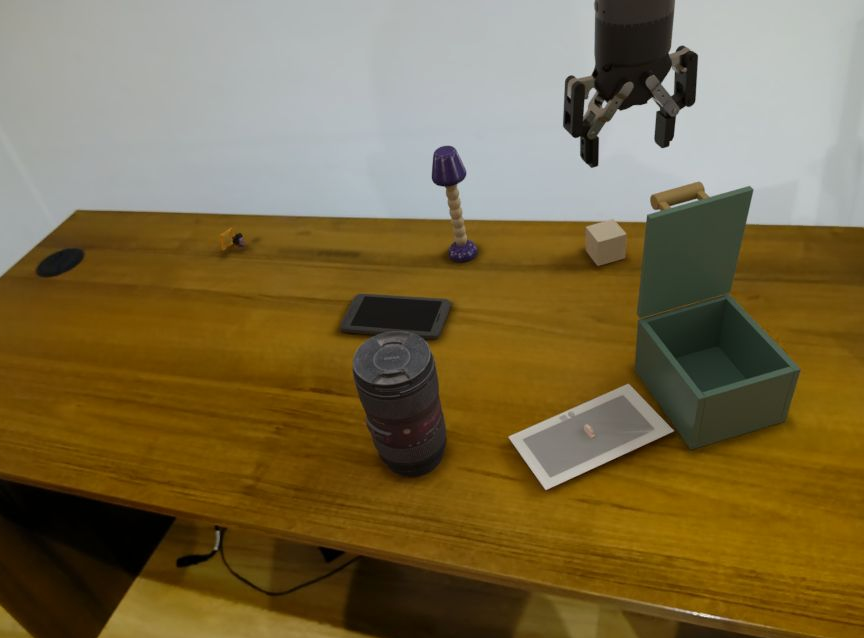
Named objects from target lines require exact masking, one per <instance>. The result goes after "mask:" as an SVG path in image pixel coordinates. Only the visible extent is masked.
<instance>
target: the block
mask: <svg viewBox="0 0 864 638" xmlns="http://www.w3.org/2000/svg"><path fill="white" fill-rule="evenodd" d="M585 252H586V253H587V254H588V256H589V257H590V258H591V259H592V261H593V263H595V265H596V266H597V267H600V266H603V265H606V264H607V265H608V264H611V263H614V262H617V261H620V260H621V261H622V260H625V259H626V252H627V233H626V231H625V230H624V229H623V228H622V227H621V226H620V225H619V223H617V221H616V220H615V219H614V218H612V219H608V220H605V221H601V222H597V223H594V224H591V225H587V226H585Z"/></svg>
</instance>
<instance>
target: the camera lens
mask: <svg viewBox="0 0 864 638" xmlns="http://www.w3.org/2000/svg"><path fill="white" fill-rule="evenodd" d="M352 376H353V381H354V384H355V389H356V391H357V395H358V398H359V401H360V403H361V406H362V409H363V410H364V412H365V416H366V418H365V424H366V427H367V430H368V432H369V433H370V435H371V439H372V443H373V445H374V447H375V449H376V451H377V453H378V455H379V458H380V460H381V461H382V462H383V463H384V464H385V465H386V466H387V467H388V469H389V470H390V471H391V472H392V473H394V474H396V475H398V476H400V477H402V478H403V477H404V478H419V477H423V476H425V475H428V474H430V473H431V472H433V471H434V470H435V469H436V468H438V466H439V465H440V464H441V462H442V461H443V459H444V455H445V450H446V447H447V427H446V420H445V415H444V412H443V408H442V403H441V398H440V386H439V385H440V384H439V376H438V371H437V366H436V360H435V356H434V354H433V353H432V350H431V347H430V345H429V343H428V342H427V341H426V339H423V338H421V337H420V336H418V335H416V334H414V333H409V332H404V331H392V332H385V333H382V334H378V335H373V336H372V337H370V338H367V340H365V341H364V342H363V343H362V344H360V345H359V347H358V348H357V349H356V350H355V352H354V355H353V358H352Z"/></svg>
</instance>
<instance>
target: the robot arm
mask: <svg viewBox="0 0 864 638" xmlns="http://www.w3.org/2000/svg"><path fill="white" fill-rule="evenodd" d="M675 8H676V0H594V2H593V9H594V49H593V54H594V68H593V71H592V73H591V75H588V76H583V77H579V78H577V77H576V76H575V75H573V74H572V75H571V74H570V75H568V76H567V77H566V78H565V80H564V91H563V92H564V93H563V112H562V113H563V115H562V116H563V117H562V127H563V129H564V130H565V131H566V132H568V134H569V135H570V136H571V137H572V138H574V139H578V138H579V156H580V159H581V160H582V161H583V162H584V163H585V164H586V165H588V167H590V168H591V169H593V168H597V167H599V163H600V162H599V160H600V159H599V156H600V137H599V136H598V135H599V134H600V133H601V130H602V129H603V127H604V126H605V125H606V124H607V123H609V122H611V120H612V119H613V117H614V116H615V115H616V113H617V111H618V110H619V111H620V112H621V111H625V110H629V109H630V108H631V107H633V106H643V105H647V104H648V101H650V100H652V101H653V102H654V103H655V104H656V106H658V108H659V110H657V111H655V123H654V135H653V137H654V138H653V139H654V143H655V144H656V145H657V146H658V147H659V148H660V149H666V148H668V147H670V143H671V142H672V141H673V140H674V137H675V130H676V120H677V115H679V113H680V111H681V110H682V109H684V108H685V107H686V108H691V107H692V106H694V105H695V103H696V100H697V84H698V65H699V55H698V53H697V52H696V51H694V50H692V49H691V48H689V47H687V46H686V45H684V44H683V45H679V46H678V47H677V48H676V49H675V52H672V53H670V52H671V48H672V41H673V29H674V18H675ZM671 69H672V71H673V72H674V76H673V77H674V78H673V79H674V81H673V94H672V95H671V94H670V93H669V92H668V90H667V89H666V88H665V87H664V86H663V84H662V83H663V82H664V81H665V79H666V78H667V75H668V74H669V72H670V71H671ZM592 89H594V90H595V92H594V94H593V95H592V98H591V99H590V101H589V102H588V104H587V110H586V112H585V100H588V99H589V98H590V97H589V94H590V91H591V90H592ZM604 102H605V103H606V104H605V106H604V107H603V104H604Z"/></svg>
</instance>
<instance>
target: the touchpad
mask: <svg viewBox="0 0 864 638" xmlns="http://www.w3.org/2000/svg"><path fill="white" fill-rule="evenodd" d="M674 432H675V430H674V429H673V428H672V427H671V426H670V425H669V424H668V423H667V422H666V421H665V420H664V418H662V417H661V416H660V414H659V413H657V411H655V409H654V408H653V407H652V406H651V405H650V404H649V403H648V402H647V401H646V400H645V399H644V398H643V397H642V396H641V395H640V394H639V393H638V392H637V391H636V390H635V388H633V386H631V384H630V383H627V384H625V385H622V386H620V387H618V388H615V389H613V390H610V391H609V392H606V393H604V394H602V395H599V396H597V397H595V398H593V399H590V400H587V401H586V402H583V403H581V404H579V405H576V406H574V407H572V408H570V409H567V410H566V411H563V412H561V413H558V414H557V415H554V416H551V417H550V418H547V419H545V420H543V421H540V422H538V423H536V424H534V425H531V426H529V427H526V428H525V429H522V430H520V431H518V432H516V433H513V434H511V435H509V436H507V437H508V439H509V440H510V442H511V443H512V445H513V446H514V447H515V449H516V450H517V452H518V453H519V454H520V456H521V458H522V459H523V460H524V462H525V463H526V464H527V466H528V467H529V469H530V470H531V471H532V473H533V474H534V476H535V477H536V479H537V480H538V482H539V483H540V485H541V486H542V487H543V489H544V490H545V491H547V490H550V489H552V488H554V487H556V486H559V485H561V484H563V483H565V482H567V481H569V480H571V479H574V478H575V477H578V476H580V475H582V474H584V473H586V472H589V471H590V470H593V469H595V468H598V467H599V466H602V465H604V464H606V463H609V462H610V461H612V460H614V459H615V460H616V458H617V459H618V458H620V457H621V456H624V455H626V454H628V453H631V452H632V451H635V450H636V449H639V448H641V447H643V446H645V445H647V444H649V443H652V442H654V441H656V440H659V439H660V438H663V437H666V436H668V435H669V434H671V433H674Z"/></svg>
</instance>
